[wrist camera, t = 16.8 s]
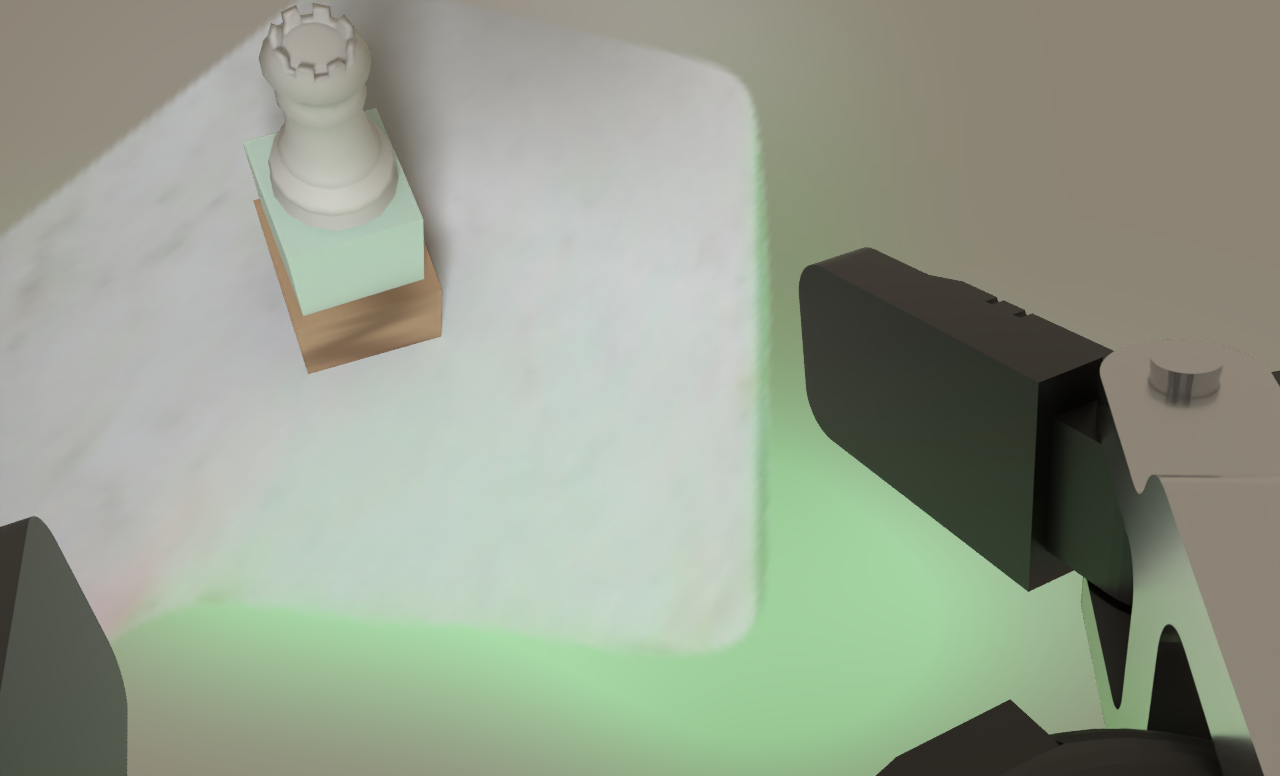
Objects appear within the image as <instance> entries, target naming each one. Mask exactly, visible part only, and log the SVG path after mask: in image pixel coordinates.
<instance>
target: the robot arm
mask: <svg viewBox="0 0 1280 776" xmlns="http://www.w3.org/2000/svg"><path fill="white" fill-rule="evenodd" d="M799 300H800V312H801V326H802V339H803V353H804V364H805V378H806V390H807V396H808V400H809V404H810V407H811V409H812V412H813V414H814V416H815V419H816V421H817V422H818V424H819V426H820V427H821V429H822V430H823V431H824V432H825V434H826V435H827V436H828V437H829V438H830V439H831V440H832V441H834V442H835V443H836V444H838V445H839V446H840V447H842V448H843V449H844V450H845V451H847V452H848V453H849V454H850V455H852V456H853V457H854V458H856V459H857V460H858V461H860V462H861V463H862V464H863V465H865V466H866V467H867V468H869V469H870V470H871V471H873V472H874V473H875V474H876V475H878V476H879V477H880V478H882V479H883V480H884V481H885V482H887V483H888V484H889V485H891V486H892V487H893V488H895V489H896V490H897V491H898V492H900V493H901V494H902V495H904V496H905V497H906V498H908V499H909V500H910V501H911V502H913V503H914V504H915V505H917V506H918V507H919V508H920V509H922V510H923V511H925V512H926V513H927V514H928V515H930V516H931V517H932V518H934V519H935V520H936V521H938V522H939V523H940V524H941V525H943V526H944V527H945V528H947V529H948V530H949V531H950V532H952V533H953V534H954V535H955V536H957V537H958V538H959V539H961V540H962V541H963V542H965V543H966V544H967V545H968V546H970V547H971V548H972V549H974V550H975V551H976V552H978V553H979V554H980V555H981V556H983V557H984V558H985V559H987V560H988V561H989V562H990V563H992V564H993V565H994V566H996V567H997V568H998V569H1000V570H1001V571H1002V572H1003V573H1005V574H1006V575H1007V576H1009V577H1010V578H1011V579H1013V580H1014V581H1015V582H1016V583H1018V584H1019V585H1020V586H1022V587H1023V588H1024V589H1026V590H1027V591H1028V592H1029V591H1031V590H1033V589H1035V588H1037V587H1040V586H1042V585H1044V584H1046V583H1048V582H1050V581H1052V580H1054V579H1057V578H1059V577H1061V576H1063V575H1065V574H1067V573H1069V572H1071V571H1073V570H1075V571H1076V572H1077V573H1079V574H1080V575H1082V576H1083V582H1082V594H1081V609H1082V614H1083V619H1084V624H1085V629H1086V633H1087V638H1088V644H1089V649H1090V654H1091V659H1092V664H1093V669H1094V674H1095V679H1096V684H1097V689H1098V693H1099V699H1100V704H1101V709H1102V714H1103V719H1104V724H1105V729H1089V730H1081V731H1071V732H1062V733H1056V734H1051V735H1049V734H1048V733H1047V732H1045V731H1044V730H1043V729H1042V728H1041V727H1040V726H1039V725H1038V724H1037V723H1035V722H1034V721H1033V720H1032V719H1031V718H1030V717H1029V716H1028V715H1027V714H1026V713H1024V712H1023V711H1022V710H1021V709H1020V708H1019V707H1018V706H1017V705H1016V704H1015V703H1014V702H1012V701H1011V700H1008V701H1006V702H1004V703H1002V704H1000V705H998V706H996V707H994V708H992V709H991V710H988V711H986V712H984V713H983V714H980V715H979V716H977V717H974V718H973V719H971V720H969V721H967V722H965V723H963V724H961V725H959V726H957V727H955V728H953V729H951V730H949V731H947V732H945V733H943V734H941V735H939V736H937V737H935V738H933V739H931V740H929V741H927V742H925V743H923V744H921V745H919V746H917V747H915V748H913V749H911V750H909V751H907V752H905V753H903V754H901V755H899V756H898V757H896V758H895V759H894V760H893V761H892V762H890V763H889V764H888V765H887V766H886V767H885V768H884V769H883V770H882V771H881V772H880V773H878V774H877V775H876V776H1280V371H1276V372H1270V371H1269V369H1268V368H1267V367H1266V366H1265V365H1264V364H1262V363H1261V362H1260V361H1259V360H1257V359H1255V358H1254V357H1252V356H1250V355H1248V354H1246V353H1243V352H1241V351H1239V350H1236V349H1233V348H1230V347H1227V346H1223V345H1218V344H1215V343H1210V342H1203V341H1197V340H1185V339H1162V340H1151V341H1144V342H1139V343H1135V344H1130V345H1128V346H1125V347H1122V348H1120V349H1118V350H1116V351H1112V350H1111V349H1108V348H1106V347H1104V346H1102V345H1100V344H1097V343H1095V342H1093V341H1091V340H1089V339H1087V338H1084V337H1082V336H1080V335H1078V334H1076V333H1074V332H1071V331H1069V330H1067V329H1065V328H1063V327H1060V326H1058V325H1056V324H1054V323H1052V322H1050V321H1047V320H1045V319H1043V318H1041V317H1039V316H1036V315H1034V314H1030V315H1026V313H1025V310H1023V309H1021V308H1019V307H1017V306H1015V305H1013V304H1010V303H1008V302H1006V301H1001V302H998V300H997V297H995V296H993V295H991V294H989V293H986V292H984V291H982V290H980V289H978V288H976V287H973V286H971V285H969V284H967V283H965V282H962V281H957V280H952V279H946V278H942V277H937V276H931V275H928V274H926V273H923V272H921V271H919V270H917V269H915V268H913V267H911V266H908V265H906V264H904V263H902V262H900V261H898V260H896V259H894V258H891V257H889V256H887V255H885V254H883V253H881V252H879V251H877V250H875V249H872V248H861V249H858V250H855V251H852V252H849V253H846V254H843V255H840V256H837V257H834V258H831V259H827V260H825V261H822V262H819V263H815V264H812V265H809V266H807V267H806V268H805V269H804V270H803V272H802V274H801V278H800V281H799ZM0 776H127V699H126V693H125V688H124V684H123V679H122V676H121V672H120V669H119V666H118V663H117V660H116V657H115V655H114V652H113V650H112V648H111V646H110V644H109V641H108V639H107V638H106V636H105V634H104V632H103V630H102V628H101V626H100V624H99V622H98V620H97V618H96V616H95V615H94V613H93V611H92V609H91V607H90V605H89V603H88V601H87V599H86V597H85V595H84V593H83V592H82V590H81V588H80V586H79V584H78V582H77V580H76V578H75V576H74V574H73V572H72V570H71V569H70V567H69V565H68V563H67V561H66V559H65V557H64V555H63V553H62V551H61V549H60V547H59V546H58V544H57V542H56V540H55V538H54V536H53V535H52V533H51V531H50V530H49V528H48V527H47V526H46V524H45V523H44V522H43V521H42V520H41V519H40V518H38V517H35V516H33V517H30V518H27V519H23V520H20V521H17V522H14V523H11V524H8V525H5V526H2V527H0Z"/></svg>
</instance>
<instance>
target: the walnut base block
mask: <svg viewBox="0 0 1280 776" xmlns="http://www.w3.org/2000/svg"><path fill="white" fill-rule="evenodd" d="M253 201H254V204H255V207H256V210H257V213H258V216H259V220H260V223H261V226H262V229H263V232H264V236H265V239H266V242H267V245H268V248H269V251H270V255H271V258H272V261H273V264H274V267H275V270H276V274H277V277H278V280H279V283H280V286H281V289H282V293H283V296H284V299H285V302H286V305H287V308H288V312H289V315H290V318H291V321H292V324H293V327H294V330H295V334H296V337H297V340H298V343H299V346H300V349H301V353H302V356H303V359H304V362H305V365H306V368H307V372H308V374H310V373H313V372H317V371H321V370H324V369H328V368H331V367H335V366H338V365H342V364H345V363H349V362H352V361H356V360H359V359H363V358H366V357H370V356H373V355H377V354H381V353H384V352H388V351H391V350H395V349H398V348H402V347H405V346H409V345H412V344H416V343H419V342H423V341H426V340H430V339H433V338H437V337H441V315H442V289H441V286H440V283H439V280H438V278H437V275H436V272H435V269H434V267H433V264H432V261H431V258H430V255H429V253H428V250H427V247H426V244H425V242H424V279H422V280H419V281H416V282H413V283H409V284H406V285H403V286H400V287H396V288H393V289H390V290H387V291H384V292H380V293H377V294H374V295H371V296H367V297H364V298H361V299H358V300H354V301H351V302H348V303H345V304H341V305H338V306H335V307H332V308H328V309H325V310H322V311H319V312H315V313H312V314H309V315H306V316H303V315H302V312H301V309H300V307H299V304H298V301H297V299H296V296H295V293H294V291H293V288H292V285H291V283H290V280H289V277H288V275H287V272H286V269H285V267H284V264H283V261H282V259H281V256H280V253H279V251H278V248H277V245H276V243H275V240H274V237H273V235H272V232H271V229H270V227H269V224H268V222H267V219H266V216H265V214H264V211H263V208H262V204H261V201H260V199H258V200H253Z"/></svg>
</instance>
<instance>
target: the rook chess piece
mask: <svg viewBox="0 0 1280 776" xmlns="http://www.w3.org/2000/svg"><path fill="white" fill-rule="evenodd" d="M281 14H282V19H283V23H282V24H280V25H278V26H277V25H275V24H272V23H271V26H270V30H269V33H268V36H267V37H266V38H265V40H264V41H263V44H262V48H261V52H260V55H259V61H260V65H261V69H262V74H263V76H264V77H265V79H266V80H267V81H268V82H269V84H270V85H271V86H272V87H273V89H274V92H275V96H276V100H277V104H278V105H279V106H280V108H281V109H282V110H283V111H284V113H285V123H284V125H283V126H282V127H281V129H280V131H279V132H278V133H277V134H276V135H275V137H274V141H273V145H272V149H271V152H270V156H269V160H268V164H269V168H270V180H271V184H272V189H273V193H274V197H275V198H276V199H277V201H278V202H279V203H280V204H281V206H282V207H283V208H284V210H285V211H286V212H287V213H288V215H290V216H292V217H294V218H295V219H297V220H299V221H301V222H302V223H304V224H306V225H308V226H310V227H314V228H320V229H326V230H332V231H338V230H344V229H350V228H356V227H361V226H362V225H364V224H366V223H368V222H369V221H371V220H373V219H374V218H376V217H378V216H380V215H381V214H382V213H383V212H384V210H385V209H386V208H387V206H388V205H389V204H390V202H391V201H392V200H393V198H394V197H395V192H396V187H397V182H398V177H399V176H398V172H397V168H396V162H395V158H394V154H393V150H392V147H391V143H390V142H389V140H388V138H387V137H386V136H385V135H384V133H383V132H382V131H381V130H380V128H379V127H378V126H377V125H376V124H375V122H374V121H372V120H370V119H369V118H368V117H367V116H366V115H365V112H364V109H363V107H364V105H365V101H366V96H367V92H368V91H367V87H366V83H365V82H366V81H367V80H368V79H369V75H370V70H371V66H372V57H371V54H370V50H369V46H368V44H367V42H366V41H365V40H364V39H363V38H362V36H361V35H360V34H359V33H358V32H357V30H356V29H354V26H353V25H352V23H351V22H350V21H349V20H348V19H347V17H346V16H345V15H343V16H342V17H340V18H339V19H335V18H332V17H331V12H330V7H329V6H324V5H319V4H314V3H313V14H309V15H300V12H299V10H298V9H297V7H296V5H295V6H293V7H291V8H289V9H287V10H285V11H283V12H281Z"/></svg>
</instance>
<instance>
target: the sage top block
mask: <svg viewBox="0 0 1280 776" xmlns="http://www.w3.org/2000/svg"><path fill="white" fill-rule="evenodd" d="M364 112H365V115H366V116H367V117H368V118H369V119H370V120H372V121H374V122H375V124H376V125H377V126H378V127H379V128H380V130H381V131H382V132H383V133H384V135H385V136H386V137H387V138H388V140H389V142H390V143H391V141H390V139H389V136H388V134H387V131H386V129H385V127H384V124H383V122H382V119H381V117H380V115H379V112H378V110H377V108H373V109H369V110H365V111H364ZM276 134H277V133H274V134H270V135H266V136H262V137H258V138H254V139H250V140H246V141H243V144H244V148H245V151H246V154H247V158H248V161H249V164H250V168H251V171H252V174H253V178H254V181H255V184H256V188H257V191H258V194H259V198H260V201H261V204H262V208H263V211H264V214H265V216H266V219H267V222H268V224H269V227H270V229H271V232H272V235H273V237H274V240H275V243H276V245H277V248H278V251H279V253H280V256H281V259H282V261H283V264H284V267H285V269H286V272H287V275H288V277H289V280H290V283H291V285H292V288H293V291H294V293H295V296H296V299H297V301H298V304H299V307H300V309H301V312H302V315H303V316H306V315H309V314H312V313H315V312H319V311H322V310H325V309H328V308H332V307H335V306H338V305H341V304H345V303H348V302H351V301H354V300H358V299H361V298H364V297H367V296H371V295H374V294H377V293H380V292H384V291H387V290H390V289H393V288H396V287H400V286H403V285H406V284H409V283H413V282H416V281H419V280H422V279H424V230H423V217H422V215H421V212H420V210H419V207H418V205H417V203H416V200H415V198H414V196H413V193H412V191H411V188H410V186H409V184H408V181H407V179H406V177H405V174H404V172H403V169H402V167H401V165H400V162H399V160H398V158H397V155H396V153H395V150H394V148H393V146H392V143H391V147H392V150H393V154H394V158H395V162H396V168H397V172H398V176H399V177H398V182H397V187H396V192H395V197H394V198H393V200H392V201H391V202H390V204H389V205H388V206H387V208H386V209H385V210H384V212H383V213H382V214H381V215H380V216H378V217H376V218H374V219H373V220H371V221H369V222H368V223H366V224H364V225H362V226H361V227H356V228H350V229H344V230H338V231H332V230H326V229H320V228H314V227H310V226H308V225H306V224H304V223H302V222H301V221H299V220H297V219H295V218H294V217H292V216H290V215H288V213H287V212H286V211H285V210H284V208H283V207H282V206H281V204H280V203H279V202H278V201H277V199H276V198H275V197H274V193H273V189H272V184H271V180H270V168H269V164H268V160H269V156H270V152H271V149H272V145H273V141H274V137H275V135H276Z"/></svg>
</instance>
